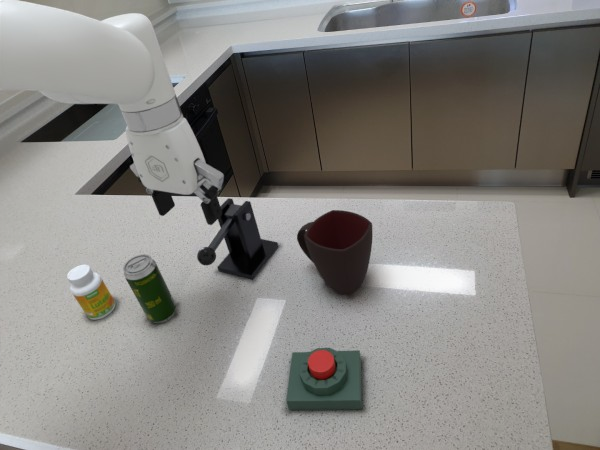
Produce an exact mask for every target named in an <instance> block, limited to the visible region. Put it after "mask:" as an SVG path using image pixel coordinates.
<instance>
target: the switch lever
mask: <svg viewBox="0 0 600 450" xmlns="http://www.w3.org/2000/svg"><path fill="white" fill-rule="evenodd" d="M241 206H242V204H236V203H234V204H231V206H230V207H229V209H228V210H227V211H226V213H225V214H224V215H225V217H226V219H227V220H226V221H225V223H224V224H223V226H222V227H220V229H219V230H218V232H217V233H216V234H215V236H214V237H213V238H212V240H211V242H210V243H209V244H208V246H203V247H201V248H200V249H199V250H198V251H197V254H196V259H197V261H198V263H199V264H200V265H202V266H210V265H212V264H214V263H215V261H216V259H217V253H216V250H217V249H218V248H219V246H220V245H221V244H222V242H223V240H225V239H224V237H225V236H226V234H227V233H228V231H229V230H230V228H231V227H232V225H233V224H235V225H236V223H235V220H234V217H233V214H234V213H235V212H236V211H237V210H238V209H239V208H240V207H241Z"/></svg>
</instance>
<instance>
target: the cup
mask: <svg viewBox="0 0 600 450" xmlns="http://www.w3.org/2000/svg"><path fill="white" fill-rule="evenodd" d="M373 235H374V233H373V222H372V221H371V220H370V219H368V218H367V217H365V216H363V215H361V214H359V213H356V212H353V211H349V210H340V209H332V210H330V211H328V212H325V213H323V214H322V215H320V216H319V217H318V218H315V220H314V221H310V222H307V223H305V224H303V225H302V226H301V227H300V228H299V229H298V232H297V234H296V240H297V243H298V245H299V247H300V249H301V251H302V253H304V255H305V256H306V257H307V258H308V259H309V260H310V261H311V262H312V263H313V264H314V266H315V269H316V271H317V273H318V274H319V276H320V278H321V279H322V281H323V282H324V283H325V285H326V286H327V287H328V288H329V289H330V290H331V291H333V292H335V293H337V294H339V295H343V296H344V295H345V296H350V295H352V294H354V293H356V292H358V290H359V289H360V288H361V287H362V286H363V284H364V283H365V279H366V277H367V273H368V270H369V265H370V260H371V254H372V247H373Z"/></svg>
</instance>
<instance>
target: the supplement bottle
mask: <svg viewBox="0 0 600 450" xmlns="http://www.w3.org/2000/svg"><path fill="white" fill-rule="evenodd" d="M66 277H67V280H68V281H69V283H70V287H69V289H70V292H71V294H72V296H73V297H74V299H75V300H76V302H77V303H78V305H79V306H80V308H81V309H82V311H83V312H84V314H85V316H86V317H87V318H88V319H90V320H92V321H93V320H101V319H104V318H106V317H107V316H109V315H110V314H111V313H113V311H114V309H116V308H115V307H116V301H115V299H114V297H113V295H112V293H111V292H110V290H109V289H108V287H107V285H106V283H105V282H104V280H103V278H102V276H101V275H100V274H99V273H98V272H95V271H93V269H92V268H91V267H90V265H88V264H80V265H77V266H74V267H73V268H72V269H71V270H69V272H68V273H67V275H66Z"/></svg>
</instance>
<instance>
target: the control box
mask: <svg viewBox="0 0 600 450" xmlns="http://www.w3.org/2000/svg"><path fill="white" fill-rule="evenodd" d="M319 350H325V351H328V352H330V353H331V354H332V355H333V357H334V361H335V366H336V369H335V372H334V374H333V375H332V376H331V377H329V378H327V379H324V380H320V379H316V378H314V377H313V376H312V375H311V373H310V370H309V366H308V359H309V357H310V355H311V354H312V353H314V352H316V351H319ZM362 391H363V390H362V358H361V350H360V349H358V350H335V349H334V348H331V347H317V348H315V349H312V350H310V351H298V352H297V351H296V352H295V351H294V352H291V360H290V369H289V376H288V385H287V392H286V399H285V402H286V405H287V407H288V410H289V411H310V410H311V411H316V410H318V411H320V410H322V411H323V410H327V411H328V410H331V411H332V410H362V409H363V405H362V404H363V400H362V399H363V398H362V397H363V395H362V394H363V393H362Z"/></svg>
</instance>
